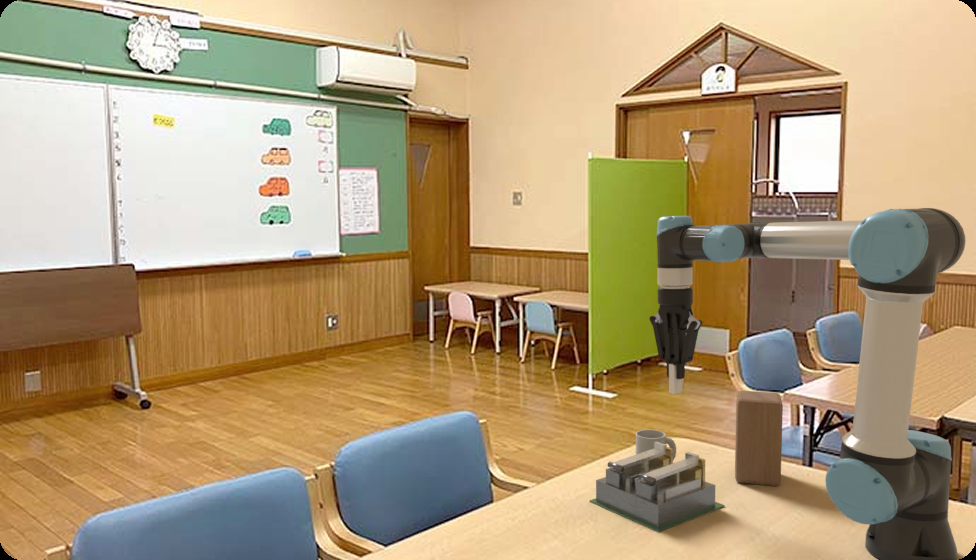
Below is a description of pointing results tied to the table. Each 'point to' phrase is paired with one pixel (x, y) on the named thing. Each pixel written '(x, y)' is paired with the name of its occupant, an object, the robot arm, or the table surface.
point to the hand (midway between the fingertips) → (675, 392)
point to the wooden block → (758, 438)
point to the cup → (652, 441)
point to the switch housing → (657, 494)
